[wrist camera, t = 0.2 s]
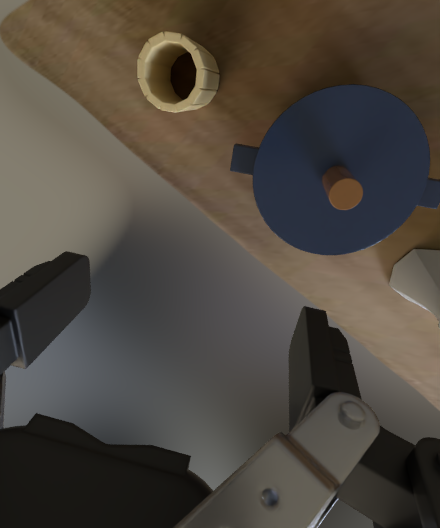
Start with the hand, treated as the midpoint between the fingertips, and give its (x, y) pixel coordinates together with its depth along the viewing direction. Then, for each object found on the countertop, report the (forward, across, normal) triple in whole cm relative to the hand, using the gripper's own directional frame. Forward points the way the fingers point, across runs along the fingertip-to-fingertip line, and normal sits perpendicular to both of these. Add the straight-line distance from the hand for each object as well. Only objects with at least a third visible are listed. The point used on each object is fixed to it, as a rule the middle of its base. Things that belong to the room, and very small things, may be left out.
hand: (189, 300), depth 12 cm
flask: (+30, -23, +10) cm, 38 cm away
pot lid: (+21, -8, -1) cm, 22 cm away
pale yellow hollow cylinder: (+29, +8, -7) cm, 31 cm away
